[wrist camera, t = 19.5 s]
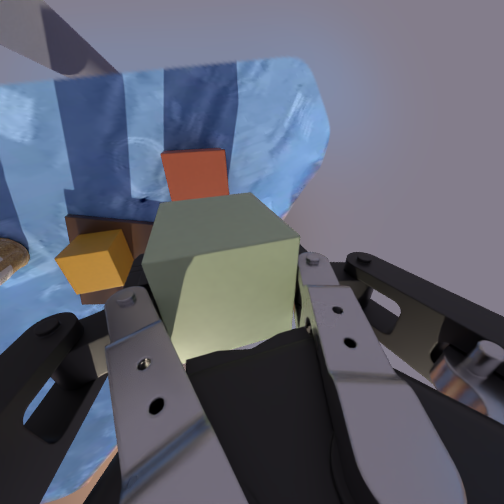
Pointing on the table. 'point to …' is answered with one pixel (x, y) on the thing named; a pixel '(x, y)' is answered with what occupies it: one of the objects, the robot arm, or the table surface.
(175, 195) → the base block
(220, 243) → the middle block
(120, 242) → the top block
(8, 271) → the spice jar
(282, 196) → the table surface
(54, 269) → the table surface
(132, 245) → the board
